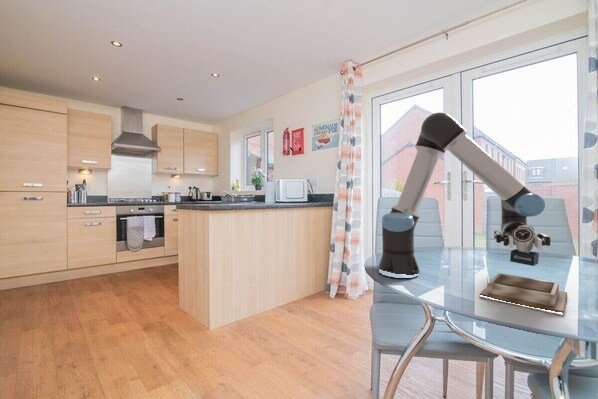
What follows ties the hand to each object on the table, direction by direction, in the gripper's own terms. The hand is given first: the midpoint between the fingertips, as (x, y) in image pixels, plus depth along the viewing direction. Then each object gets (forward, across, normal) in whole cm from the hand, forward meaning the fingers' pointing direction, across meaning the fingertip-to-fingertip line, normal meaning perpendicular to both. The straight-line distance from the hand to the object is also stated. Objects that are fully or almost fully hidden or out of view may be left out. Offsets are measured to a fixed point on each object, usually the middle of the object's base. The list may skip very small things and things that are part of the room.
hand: (525, 244), depth 77 cm
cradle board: (-5, 0, -17) cm, 17 cm away
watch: (-5, 0, -7) cm, 8 cm away
